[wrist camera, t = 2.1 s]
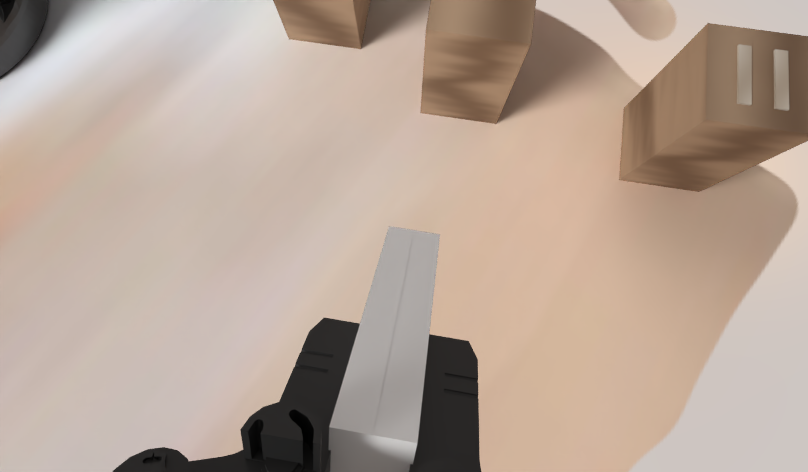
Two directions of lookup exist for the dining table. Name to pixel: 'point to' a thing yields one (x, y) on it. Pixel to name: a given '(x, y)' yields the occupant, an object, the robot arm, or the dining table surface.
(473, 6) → the unmarked block
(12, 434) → the dining table surface
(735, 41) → the marked block 1
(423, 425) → the robot arm
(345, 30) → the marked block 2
